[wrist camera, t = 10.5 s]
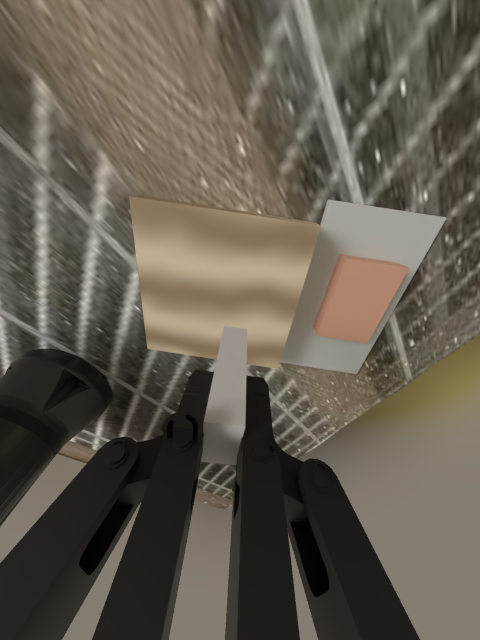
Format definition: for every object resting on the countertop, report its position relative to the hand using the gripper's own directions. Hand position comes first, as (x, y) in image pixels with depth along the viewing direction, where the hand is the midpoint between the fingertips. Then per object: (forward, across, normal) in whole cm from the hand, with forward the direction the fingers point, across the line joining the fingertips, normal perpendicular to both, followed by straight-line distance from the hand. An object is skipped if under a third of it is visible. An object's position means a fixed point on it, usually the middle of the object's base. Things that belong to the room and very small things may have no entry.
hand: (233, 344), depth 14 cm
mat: (+12, -12, +1) cm, 17 cm away
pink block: (+9, -13, 0) cm, 16 cm away
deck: (+12, +2, +1) cm, 12 cm away
